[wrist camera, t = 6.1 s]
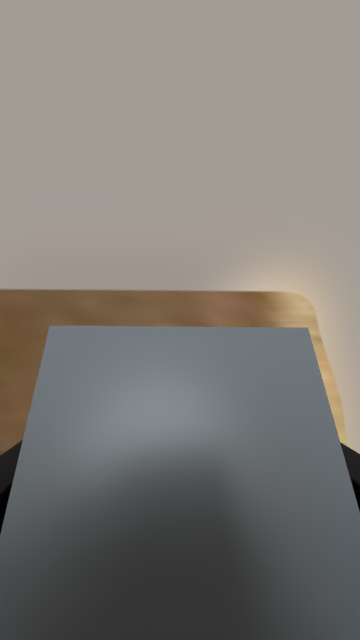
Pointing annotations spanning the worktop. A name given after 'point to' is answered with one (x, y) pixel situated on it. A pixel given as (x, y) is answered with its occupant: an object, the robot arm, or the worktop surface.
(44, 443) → the tall gray block
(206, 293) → the worktop surface
